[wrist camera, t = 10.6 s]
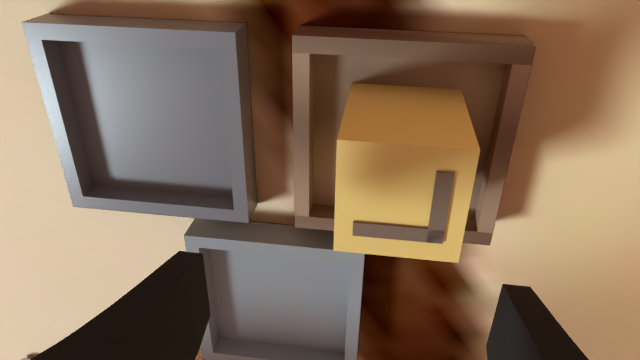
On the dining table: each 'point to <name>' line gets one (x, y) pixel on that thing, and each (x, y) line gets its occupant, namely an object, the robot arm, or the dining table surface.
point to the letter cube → (404, 172)
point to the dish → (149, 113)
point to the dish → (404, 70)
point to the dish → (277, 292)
